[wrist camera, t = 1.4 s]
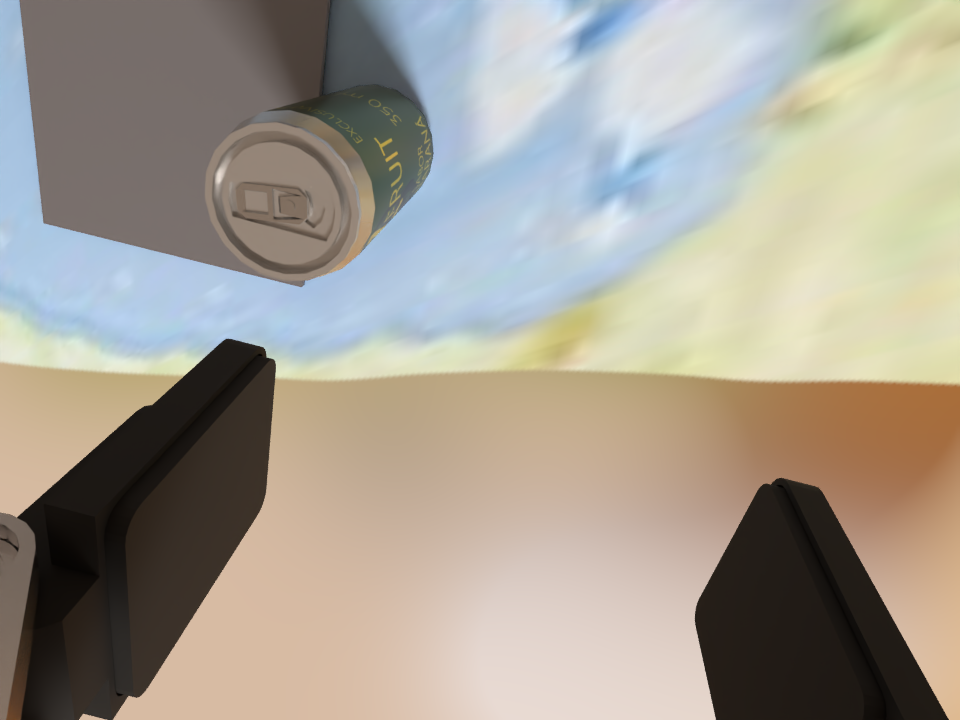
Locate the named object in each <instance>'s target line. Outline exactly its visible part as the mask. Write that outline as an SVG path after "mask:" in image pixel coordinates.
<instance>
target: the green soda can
mask: <svg viewBox="0 0 960 720" xmlns="http://www.w3.org/2000/svg"><path fill="white" fill-rule="evenodd" d="M432 159H433V144H432V134H431V132H430V129H429V127H428V125H427V122H426V120H425V117H424V116H423V114H422V113H421V112H420V111H419V109H418V108H417V107H416V106H415V104H414V103H413V102H412V101H411V100H410V99H408V98H407V97H405V96H404V95H402V94H401V93H399V92H398V91H396V90H394V89H391V88H387V87H384V86H380V85H364V86H356V87H353V88H349V89H345V90H342V91H338V92H334V93H330V94H327V95H323V96H319V97H316V98H312V99H308V100H305V101H301V102H297V103H294V104H290V105H286V106H282V107H279V108H275V109H271V110H268V111H264V112H262V113H259V114H257V115H255V116H253V117H251V118H249V119H246V120H244V121H242V122H240V123H239V124H238V126H237V127H236V128H235V129H234V130H233V131H232V132H231V133H230V134H229V135H228V136H227V137H226V138H225V139H224V141H223V142H222V143H221V144H220V145H219V146H218V147H217V149H216V150H215V151H214V153H213V156H212V158H211V161H210V163H209V166H208V168H207V171H206V180H205V200H206V204H207V208H208V212H209V215H210V219H211V222H212V224H213V226H214V227H215V229H216V231H217V233H218V234H219V236H220V238H221V240H222V241H223V243H224V244H225V245H226V246H227V247H228V249H229V250H230V251H231V252H232V253H233V254H234V255H235V256H236V257H237V258H238V259H239V260H240V261H241V262H243V263H244V264H246V265H248V266H249V267H251V268H253V269H254V270H256V271H258V272H259V273H261V274H262V275H266V276H270V277H273V278H277V279H280V280H284V281H303V280H310V279H313V278H316V277H321V276H324V275H326V274H329V273H332V272H334V271H337V270H340V269H342V268H343V267H345V266H346V265H347V264H348V263H349V262H350V261H352V260H353V259H354V258H355V257H356V256H357V255H359V254H360V253H361V252H362V250H363V249H364V248H365V247H366V246H367V245H368V244H369V243H370V242H371V241H372V240H373V239H374V238H375V236H376V235H377V234H378V233H379V232H380V231H381V230H382V229H383V228H384V227H385V226H386V225H387V223H388V222H389V221H390V220H391V219H392V218H393V217H394V216H395V215H396V214H397V213H398V212H399V210H400V209H401V208H402V207H403V206H404V205H405V204H406V203H407V202H408V201H409V200H410V199H411V197H412V196H413V195H414V194H415V193H416V192H417V191H418V190H419V189H420V188H421V186H422V185H423V183H424V181H425V179H426V178H427V176H428V174H429V172H430V168H431V164H432Z"/></svg>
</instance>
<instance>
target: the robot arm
mask: <svg viewBox="0 0 960 720" xmlns="http://www.w3.org/2000/svg"><path fill="white" fill-rule="evenodd" d="M275 372H276V364H275V361H274V359H270V358H266V351H265V349H264V348H263V347H260V346H256V345H252V344H248V343H244V342H240V341H236V340H232V339H226V340H224V341H222V342H221V343H220V344H219V345H218V346H217V347H216V348H215V349H214V350H213V351H211V352H210V353H209V354H208V355H207V356H206V357H205V358H204V359H203V360H202V361H200V362H199V363H198V364H197V365H196V366H195V367H194V368H193V369H192V370H190V371H189V372H188V373H187V374H186V375H185V376H184V377H183V378H182V379H181V380H180V381H178V382H177V383H176V384H175V385H174V386H173V387H172V388H171V389H170V390H168V391H167V392H166V393H165V394H164V395H163V396H162V397H161V398H160V399H158V401H156V402H155V403H154V404H153V405H150V406H144V407H143V408H141V409H139V410H138V411H136V412H135V413H134V414H133V415H132V416H131V417H130V418H129V419H127V420H126V421H125V422H124V423H123V424H122V425H121V426H120V427H118V428H117V429H116V430H115V431H114V432H113V433H112V434H110V435H109V436H108V437H107V438H106V439H105V440H104V441H103V442H101V443H100V444H99V445H98V446H97V447H96V448H95V449H94V450H92V451H91V452H90V453H89V454H88V455H87V456H86V457H85V458H83V460H81V461H80V462H79V463H78V464H77V465H76V466H74V467H73V468H72V469H71V470H70V471H69V472H68V473H67V474H65V475H64V476H63V477H62V478H61V479H60V480H59V481H58V482H57V483H56V484H54V485H53V486H52V487H51V488H50V489H49V490H47V491H46V492H45V493H44V494H43V495H42V496H41V497H40V498H39V499H37V500H36V501H35V502H34V503H33V504H32V505H31V506H30V507H28V508H27V509H26V510H25V511H24V512H23V513H22V514H20V515H19V516H18V517H17V518H16V517H14V516H13V515H10V514H5V513H0V720H79V719H80V717H81V716H82V714H87V715H91V716H95V717H99V718H103V719H107V720H113V718H114V717H115V715H116V714H117V712H118V711H119V709H120V708H121V706H122V705H123V703H124V702H125V700H126V699H127V697H128V696H132V697H136V698H137V697H140V696H141V695H142V694H143V693H144V692H145V691H146V689H147V688H148V686H149V685H150V683H151V682H152V680H153V679H154V677H155V675H156V674H157V672H158V671H159V669H160V668H161V666H162V664H163V663H164V661H165V659H166V658H167V657H168V655H169V653H170V652H171V650H172V649H173V647H174V646H175V644H176V642H177V641H178V639H179V638H180V636H181V635H182V633H183V631H184V630H185V628H186V627H187V625H188V623H189V622H190V620H191V619H192V617H193V616H194V614H195V613H196V611H197V609H198V608H199V606H200V605H201V603H202V602H203V600H204V598H205V597H206V595H207V594H208V592H209V591H210V589H211V587H212V586H213V584H214V583H215V581H216V580H217V578H218V576H219V575H220V573H221V572H222V570H223V569H224V567H225V565H226V564H227V562H228V561H229V559H230V558H231V556H232V554H233V553H234V551H235V550H236V548H237V547H238V545H239V543H240V542H241V540H242V539H243V537H244V536H245V534H246V532H247V531H248V529H249V528H250V526H251V525H252V523H253V521H254V520H255V518H256V517H257V515H258V513H259V511H260V509H261V507H262V505H263V501H264V498H265V494H266V485H267V472H268V460H269V447H270V435H271V421H272V409H273V395H274V385H275ZM695 625H696V630H697V634H698V638H699V644H700V648H701V653H702V657H703V662H704V666H705V671H706V676H707V680H708V685H709V689H710V694H711V699H712V703H713V708H714V712H715V717H716V720H949V719H948V718H947V716H946V714H945V712H944V711H943V709H942V707H941V705H940V703H939V701H938V700H937V698H936V696H935V694H934V693H933V691H932V689H931V687H930V685H929V683H928V682H927V680H926V678H925V676H924V674H923V673H922V671H921V669H920V667H919V665H918V664H917V662H916V660H915V658H914V657H913V655H912V653H911V651H910V649H909V647H908V646H907V644H906V642H905V640H904V638H903V637H902V635H901V633H900V631H899V630H898V628H897V626H896V624H895V622H894V621H893V619H892V617H891V615H890V613H889V611H888V610H887V608H886V606H885V604H884V602H883V601H882V599H881V597H880V595H879V593H878V591H877V590H876V588H875V586H874V584H873V583H872V581H871V579H870V577H869V575H868V573H867V572H866V570H865V568H864V566H863V564H862V563H861V561H860V559H859V557H858V556H857V554H856V552H855V550H854V548H853V546H852V545H851V543H850V541H849V539H848V537H847V536H846V534H845V532H844V530H843V528H842V527H841V525H840V523H839V521H838V519H837V518H836V516H835V514H834V512H833V510H832V509H831V507H830V505H829V503H828V501H827V500H826V498H825V496H824V494H823V493H822V491H821V490H820V489H819V488H818V487H815V486H811V485H808V484H803V483H799V482H795V481H791V480H788V479H784V478H779V479H776V480H775V481H774V482H773V483H772V484H771V485H770V484H763V485H762V486H761V487H760V488H759V490H758V491H757V493H756V495H755V497H754V499H753V500H752V502H751V504H750V506H749V508H748V510H747V512H746V513H745V515H744V517H743V519H742V521H741V522H740V524H739V526H738V528H737V530H736V532H735V534H734V535H733V537H732V539H731V541H730V543H729V545H728V547H727V549H726V550H725V552H724V554H723V556H722V558H721V560H720V561H719V563H718V565H717V567H716V569H715V571H714V572H713V574H712V576H711V578H710V580H709V582H708V584H707V585H706V587H705V589H704V591H703V593H702V595H701V597H700V598H699V601H698V603H697V606H696V611H695Z"/></svg>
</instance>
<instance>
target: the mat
mask: <svg viewBox="0 0 960 720" xmlns="http://www.w3.org/2000/svg"><path fill="white" fill-rule="evenodd" d="M330 1H331V0H20V8H21V17H22V27H23V36H24V45H25V54H26V64H27V73H28V82H29V92H30V101H31V110H32V120H33V129H34V138H35V147H36V157H37V166H38V175H39V185H40V194H41V203H42V213H43V222H44V223H45V224H49V225H53V226H57V227H61V228H65V229H69V230H73V231H77V232H81V233H85V234H89V235H93V236H97V237H101V238H105V239H110V240H114V241H118V242H122V243H126V244H130V245H134V246H138V247H142V248H146V249H150V250H154V251H158V252H162V253H166V254H170V255H174V256H178V257H182V258H186V259H190V260H194V261H198V262H202V263H206V264H210V265H214V266H218V267H222V268H226V269H230V270H234V271H238V272H242V273H246V274H250V275H255V276H259V277H263V278H267V279H271V280H275V281H279V282H283V283H287V284H291V285H295V286H299V287H302V286H303V285H304V283H305V280H303V281H284V280H280V279H277V278H273V277H270V276H266V275H262V274H261V273H259V272H258V271H256V270H254V269H253V268H251V267H249V266H248V265H246V264H244V263H243V262H241V261H240V260H239V259H238V258H237V257H236V256H235V255H234V254H233V253H232V252H231V251H230V250H229V249H228V247H227V246H226V245H225V244H224V243H223V241H222V240H221V238H220V236H219V234H218V233H217V231H216V229H215V227H214V226H213V224H212V222H211V219H210V215H209V212H208V208H207V204H206V200H205V180H206V171H207V168H208V166H209V163H210V161H211V158H212V156H213V153H214V151H215V150H216V149H217V147H218V146H219V145H220V144H221V143H222V142H223V141H224V139H225V138H226V137H227V136H228V135H229V134H230V133H231V132H232V131H233V130H234V129H235V128H236V127H237V126H238V124H239V123H240V122H242V121H244V120H246V119H249V118H251V117H253V116H255V115H257V114H259V113H262V112H264V111H268V110H271V109H275V108H279V107H282V106H286V105H290V104H294V103H297V102H301V101H305V100H308V99H312V98H316V97H319V96H322V88H323V77H324V66H325V55H326V44H327V33H328V23H329V12H330Z"/></svg>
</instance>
